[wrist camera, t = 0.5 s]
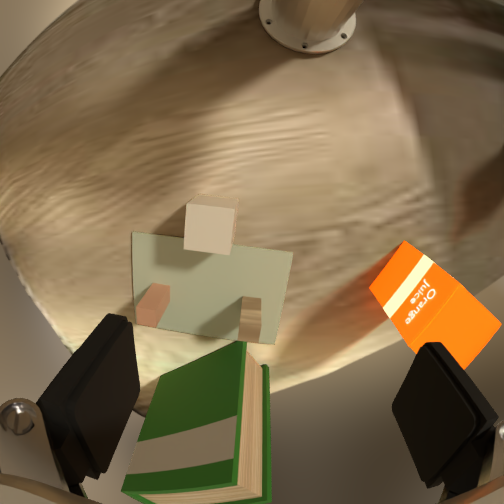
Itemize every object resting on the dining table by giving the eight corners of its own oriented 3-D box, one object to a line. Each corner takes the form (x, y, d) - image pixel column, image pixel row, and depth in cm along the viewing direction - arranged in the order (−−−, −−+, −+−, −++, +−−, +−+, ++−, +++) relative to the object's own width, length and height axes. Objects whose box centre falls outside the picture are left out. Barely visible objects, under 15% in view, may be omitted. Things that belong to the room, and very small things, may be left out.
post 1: (153, 282, 41) (135, 306, 35) (170, 285, 41) (155, 310, 35) (153, 298, 42) (137, 324, 36) (169, 301, 42) (155, 327, 36)
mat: (133, 231, 39) (132, 232, 39) (292, 252, 40) (293, 253, 39) (136, 322, 44) (135, 323, 44) (274, 343, 45) (274, 344, 44)
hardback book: (243, 337, 44) (231, 482, 22) (269, 367, 46) (271, 502, 24) (160, 375, 48) (120, 491, 25) (187, 400, 50) (161, 512, 28)
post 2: (242, 296, 42) (239, 323, 35) (261, 298, 42) (261, 326, 35) (240, 311, 42) (237, 340, 36) (258, 314, 42) (258, 343, 36)
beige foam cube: (198, 193, 37) (186, 203, 31) (239, 198, 37) (235, 208, 31) (195, 232, 39) (183, 249, 33) (234, 237, 39) (229, 255, 33)
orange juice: (367, 287, 41) (427, 379, 22) (404, 239, 39) (489, 307, 20) (400, 310, 43) (461, 396, 24) (434, 266, 40) (513, 335, 21)
